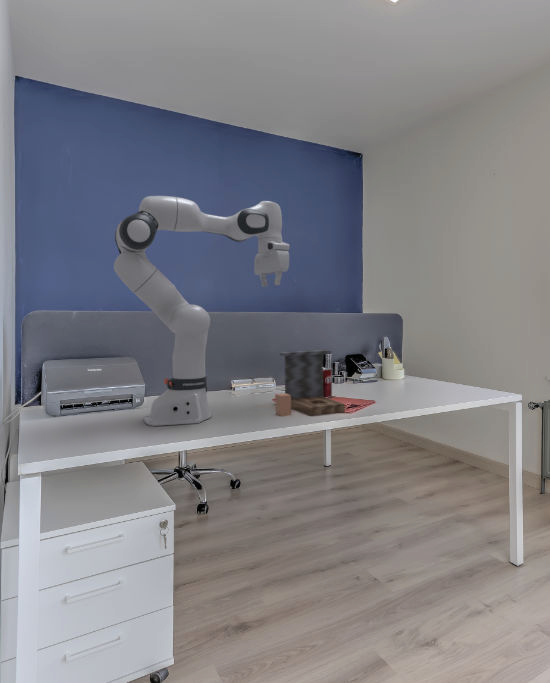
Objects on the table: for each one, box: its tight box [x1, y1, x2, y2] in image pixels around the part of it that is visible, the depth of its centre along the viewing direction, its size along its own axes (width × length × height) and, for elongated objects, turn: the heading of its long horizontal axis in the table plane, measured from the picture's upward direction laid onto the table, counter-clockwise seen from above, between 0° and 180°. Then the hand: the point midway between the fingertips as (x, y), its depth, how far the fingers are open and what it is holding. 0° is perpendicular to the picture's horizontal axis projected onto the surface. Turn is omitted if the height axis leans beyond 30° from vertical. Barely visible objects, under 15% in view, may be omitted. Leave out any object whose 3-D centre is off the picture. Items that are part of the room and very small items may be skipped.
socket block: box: [279, 349, 346, 417], centre depth 171 cm, size 20×18×21 cm
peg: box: [275, 392, 292, 417], centre depth 164 cm, size 4×4×7 cm
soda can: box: [323, 367, 333, 398], centre depth 196 cm, size 7×7×12 cm
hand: (270, 285), depth 169 cm, fingers open, 8 cm apart
